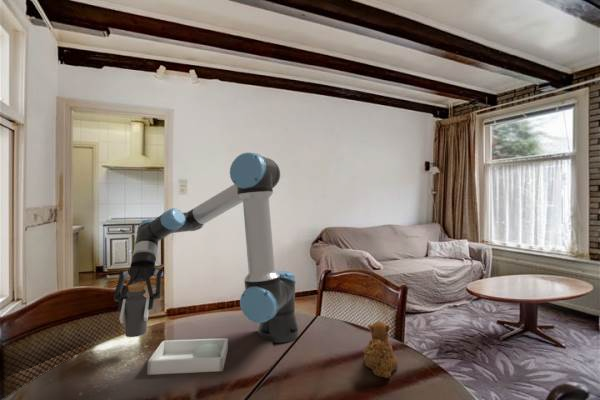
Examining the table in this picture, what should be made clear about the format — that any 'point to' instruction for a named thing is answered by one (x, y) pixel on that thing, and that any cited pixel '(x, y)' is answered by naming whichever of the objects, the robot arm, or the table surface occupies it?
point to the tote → (185, 357)
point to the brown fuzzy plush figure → (380, 351)
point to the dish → (207, 351)
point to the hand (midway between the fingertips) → (133, 320)
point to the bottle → (135, 311)
